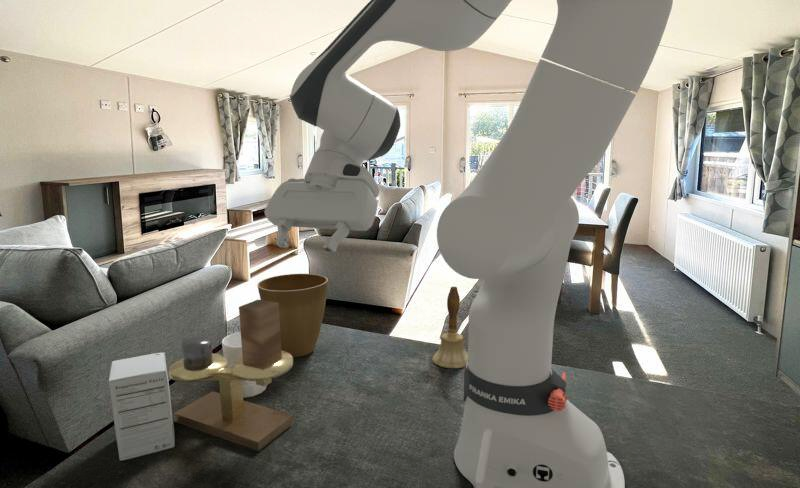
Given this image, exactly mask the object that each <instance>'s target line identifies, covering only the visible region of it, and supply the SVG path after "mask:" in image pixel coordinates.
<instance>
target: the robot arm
mask: <svg viewBox="0 0 800 488" xmlns="http://www.w3.org/2000/svg"><path fill="white" fill-rule="evenodd" d="M512 1H513V0H370V1H368V2H367V4H366V5H365V6H364V7H363V8H362V9H361V10H360V11H359V12H358V13H357V14H356V15H355V16H354V17H353V19H352V20H351V21H350V22H349V23H348V24H347V25H345V27H344V28H343V30H342V31H341V32H340V33H338V36H336V37H335V39H333V41H331V42H330V44H329V45H328V46H327V47H326V48H325V49H324V51H322V52H321V53H320V54H319V55H318V56H317V57H316V58H315V59H314V60H313V61H312V62H311V63H310V64H308V65H307V66H306V67H305V68H304V69H302V70H301V72H300V73H299V74H298V76H296V79H295V80H294V82H293V85H292V88H291V91H290V95H289V100H290V101H291V102H290V103H291V105H292V107H293V110H294V112H295V114H296V116H297V118H298V119H299V120H300V121H303V122H305V123H308V124H309V125H311V126H313V127H318V128H319V129H321V130H322V131H323V132H322V134H321V135H320V136H321V137H320V141H319V147H318V148H317V150H316V151H315V152H314V153H313V155H312V158H311V160H310V163H309V165H308V168H307V170H306V172H305V174H304V177H303V178H288V180H286V181H284V182H281V183H280V185H279V186H278V187H277V189H276V190H275V191H274V193H273V194H272V196H271V197H270V199H269V201H268V203H267V205H266V207H265V208H264V216H265V218H266V219H267V220H268V221H269V222H270V223H271V224H272V225H273V226H277V233H278V236H277V238H276V241H275V243H276V245H277V246H278V247H279V248H282V249H283V248H285V249H286V248H289V247H290V244H291V241H292V239H291V238H290V237H289V236H288V232H291V230H292V228H293V227H294V228H308V229H309V228H310V229H323V230H325V229H327V230H336V231H334V232H333V234H332V235H331V236H330V237H325V240H324V243H323V249H324V250H325V251H326V252H332V253H334V252H335V253H336V252H337V249H338V247H339V244H340V243H342V241H344V240H345V239H346V238H347V237H348V236H349V234H350V231H359V232H366V231H368V230H369V229H371V228H372V227H373V224H374V223H375V219H376V215H377V211H378V205H379V204H378V203H379V202H378V200H377V197H379V195H380V193H381V192H380V191H381V190H380V188H379V186H378V183H377V181H376V180H375V178H374V177H373V175H372V174H371V172H370V171H369V170H368V168H366V167H365V166H362V163H364V161H367V162H368V161H369V162H370V161H372V160H375V159H378V158H380V157H383V156H385V155H387V154H388V153H389V151H390V150H391V149H392V148H393V146H394V145H395V143H396V140H397V137H398V135H399V132H400V129H401V117H400V111H399V109H398V107H397V106H395V105H394V104H393V103H392V102H391V101H389V100H388V99H386V98H384V97H383V96H382V95H380V94H378V93H377V92H375V91H373V90H371V89H370V88H368V87H367V86H365V85H364V84H362V83H361V82H359V81H357V80H356V79H355V78H353V77H351V76H350V75H349V74H348V73H347V71H348V70H350V68H352V66H353V65H354V64H355V63H356V62H357V61H358V60H359V59H360V58H361V57H363V55H364V54H365V53H366V52H368V50H369V49H370V48H371V47H372V46H374V45H376V44H378V43H381V42H386V41H387V42H390V41H391V42H400V43H405V44H411V45H414V46H419V47H422V48H424V49H429V50H432V51H436V52H437V51H438V52H452V51H453V52H454V51H458V50H462V49H466V48H468V47H470V46H471V45H473V44H475V42H476V41H478V40H479V39H480V38H481V37H482V36H483V35H484V34H485V33H486V32H487V31H488V30H489V29H490V28H491V26H492V25H493V24H494V23H495V22H496V21H497V20H498V18H499V17H500V16H501V15H502V14H503V12H504V11H505V9H506V8H507V7H508V6H509V4H510V3H511V2H512ZM673 2H674V0H556V3H557V4H556V5H557V16H556V19H555V24H554V27H553V29H552V32H551V34H550V36H549V39H548V40H547V43H546V44H545V48H544V49H543V51H542V54H541V56H540V59H539V61H538V62H537V65H536V67H535V69H534V72H533V74H532V77H531V78H530V81H529V84H528V85H527V88H526V90H525V92H524V95H523V97H522V98H521V101H520V103H519V106H518V108H517V110H516V112H515V115H514V117H513V119H512V121H511V122H510V124H509V126H508V127H507V130H506V131H505V132H504V134H503V136H502V138H501V139H500V140H499V142H497V145H495V146H496V147H495V148H494V149H493V151H492V153H491V154H490V155H489V156H488V158H487V159H486V161H485V162H484V163H483V165H482V166H481V168H480V169H479V171H478V172H477V174H476V175H475V176H474V178H473V180H472V181H471V182H470V183H469V185H468V186H467V187H466V188H465V189H464V190H463V191H462V192H461V193H460V194H459V195H458V196H456V198H455V199H453V200H452V201H451V202H450V203H449V204H448V205H447V206H446V207H445V208H444V210H443V211H442V213H441V215H440V216H439V219H438V223H437V227H436V240H437V246H438V250H439V252H440V254H441V255H440V256H442V258H443V260H444V261H445V263H446V264H447V265H448V266H449V268H450V269H452V270H453V271H454V272H455V273H456V274H458V275H460V276H462V277H465V278H466V279H467V278H468V279H472V280H473V279H474V280H477V279H478V280H482V281H481V283H480V286H479V289H478V291H477V292H476V293H477V294H476V295H475V297H474V299H473V301H472V303H471V305H470V307H469V311H468V327H467V328H468V329H467V335H468V336H467V354H468V362H466V363H465V367H463V368H464V369H463V375H462V391H463V401H464V408H463V409H464V410H463V415H462V423H461V429H460V432H459V436H458V440H457V441H456V444H455V447H454V451H453V459H454V463H455V466H456V467H457V469H458V470H459V472H460V473H461V474H462V476H463V477H464V478H465V479H466V480H468V481H469V482H470V483H471V485H472V486H473V488H626V487H625V486H626V485H625V484H626V482H625V481H626V480H625V476H624V474H625V473H624V471H623V468H622V466H621V464H620V462H619V460H618V459H617V458H616V457H615V456H614V455H613V454H612V453H611V452H609V451H607V446H606V443H605V442H606V441H605V439H604V435H603V432H602V430H601V428H600V427H599V425H598V424H597V423H596V422H595V421H594V420H593V419H591V418H590V417H589V416H588V415H586V414H585V413H584V412H583V411H581V410H580V409H579V408H577V406H575V405H574V404H573V403H572V402H570V401H569V400H568V398H567V382H566V378H567V376H566V372H565V371H563V372H562V374H561V375H559V374H558V373H557V372H556V371H555V370H554V369H553V368H552V358H553V344H554V343H553V342H554V331H555V330H554V329H555V328H554V326H555V317H556V313H557V312H556V311H557V306H558V301H559V297H560V293H561V290H562V289H561V288H562V285H563V281H564V277H565V273H566V270H567V269H566V268H567V264H568V259H569V253H570V249H571V246H572V242H573V240H574V237H575V234H576V232H577V230H578V229H579V222H580V214H579V210H578V207H577V204H576V202H575V201H574V199H573V198H572V196H573V194H574V193H575V192H576V190H577V189H578V188H579V186H580V185H581V184H582V182H583V181H584V180H585V179H586V177H587V176H588V175H589V173H591V172H592V171H593V169H594V168H596V166H598V164H599V163H600V162H601V160H602V158H603V157H604V155H605V153H606V151H607V149H608V147H609V146H610V144H611V142H612V140H613V139H614V137H615V134H616V132H617V131H618V128H619V127H620V125H621V123H622V121H623V119H625V116H626V114H627V112H628V110H629V109H630V107H631V105H632V103H633V101H634V99H635V97H636V95H637V93H638V91H639V89H640V88H641V85H642V84H643V82H644V80H645V78H646V76H647V74H648V71H650V70H649V69H650V68H651V65H652V63H653V61H654V59H655V56H656V54H657V51H658V49H659V46H660V44H661V41H662V39H663V35H664V32H665V30H666V27H667V24H668V21H669V17H670V15H671V12H672V9H673V8H672V7H673ZM541 58H542V59H541ZM550 61H551V62H550ZM560 65H561V66H560ZM633 92H634V93H633Z"/></svg>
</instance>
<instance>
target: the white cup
mask: <svg viewBox="0 0 800 488" xmlns="http://www.w3.org/2000/svg"><path fill="white" fill-rule="evenodd" d="M221 346H222V355H223V356H225V357H226V358H227V361H228V367H227V368H231V364H232V362H233V361H234V360H235V359H237V358H238V357H240V356H242V343H241V331H237V332H234V333H230V334H229V335H226V336H224V338H223V339H222V340H221ZM267 386H268V384H267V385H266V386H260V385H257V384H256V381H242V390H243V399H244V398H246V399H247V398H251V397H255V396H258V395H260V394H262V393H264V391H266V389H267Z"/></svg>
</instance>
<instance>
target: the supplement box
mask: <svg viewBox="0 0 800 488" xmlns="http://www.w3.org/2000/svg"><path fill="white" fill-rule="evenodd" d="M166 361H167V360H166V353H165V352H156V353H150V354H145V355H144V354H143V355H139V356H134V357H128V358H121V359H117V360H113V361H111V365H110V370H109V376H108V377H109V378H108V386H109V393H110V400H111V408H112V416H113V423H114V431H115V438H116V444H117V445H116V446H117V449H118V458H119V461H122V462H123V461H126V460H130V459H134V458H138V457H143V456H145V455H150V454H154V453H157V452H162V451H164V450H168V449H173V448H174V447H175V445H176V443H175V441H176V440H175V439H176V438H175V427H174V426H175V425H174V415H173V409H172V401H171V400H172V399H171V392H170V391H171V390H170V384H169V372H168V367H167V362H166Z"/></svg>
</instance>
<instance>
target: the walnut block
mask: <svg viewBox="0 0 800 488" xmlns="http://www.w3.org/2000/svg"><path fill="white" fill-rule="evenodd" d="M238 313H239V325H240V326H239V327H240V332H241V343H242V357H243V365H247V366H251V367H255V368H259V369H263V370H264V369H266V368H268V367H269V366H271V365H273V364H274V363H276V362H278V361H280V360H281V359H282V352H281V334H280V317H279V303H276V302H270V301H265V300H261V299H256V300H253V301H251V302H247V303H245V304H242V305H240V306H239V307H238Z"/></svg>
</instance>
